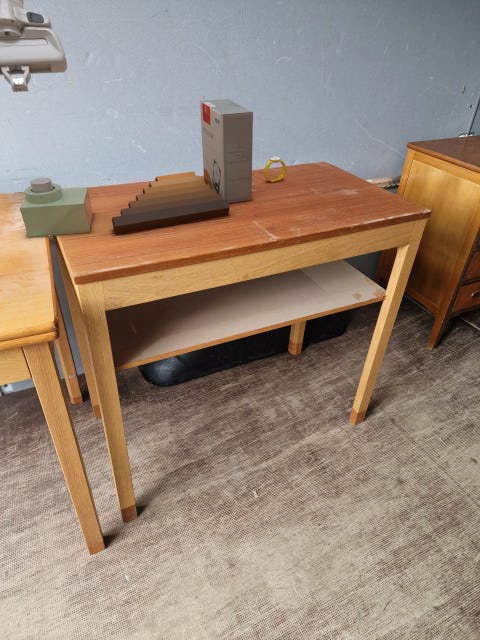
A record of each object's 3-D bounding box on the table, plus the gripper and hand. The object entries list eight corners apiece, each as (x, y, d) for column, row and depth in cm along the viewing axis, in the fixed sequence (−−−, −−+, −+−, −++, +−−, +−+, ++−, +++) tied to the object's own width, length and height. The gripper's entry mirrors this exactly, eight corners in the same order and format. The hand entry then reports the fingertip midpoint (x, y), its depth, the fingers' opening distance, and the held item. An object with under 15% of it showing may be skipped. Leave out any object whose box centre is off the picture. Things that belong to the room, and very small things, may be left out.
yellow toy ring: (281, 177, 120) (282, 155, 116) (287, 180, 118) (288, 157, 114) (262, 181, 118) (263, 158, 114) (267, 184, 116) (268, 161, 112)
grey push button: (31, 194, 88) (28, 184, 87) (34, 188, 91) (31, 178, 90) (52, 193, 88) (49, 183, 87) (55, 186, 92) (52, 177, 90)
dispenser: (28, 237, 90) (16, 198, 85) (36, 218, 97) (26, 181, 93) (89, 232, 91) (81, 194, 87) (92, 213, 99) (85, 178, 95)
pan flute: (116, 236, 90) (229, 216, 98) (114, 220, 88) (229, 201, 96) (96, 196, 108) (192, 182, 117) (93, 182, 106) (192, 169, 115)
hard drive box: (203, 184, 116) (199, 100, 104) (230, 180, 118) (229, 98, 106) (222, 205, 104) (220, 112, 92) (252, 200, 106) (254, 110, 94)
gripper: (-56, 16, 85) (-43, 81, 83) (56, 16, 91) (70, 76, 89) (-45, 42, 91) (-32, 103, 89) (60, 40, 97) (73, 97, 95)
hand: (20, 89), depth 89 cm, fingers closed
